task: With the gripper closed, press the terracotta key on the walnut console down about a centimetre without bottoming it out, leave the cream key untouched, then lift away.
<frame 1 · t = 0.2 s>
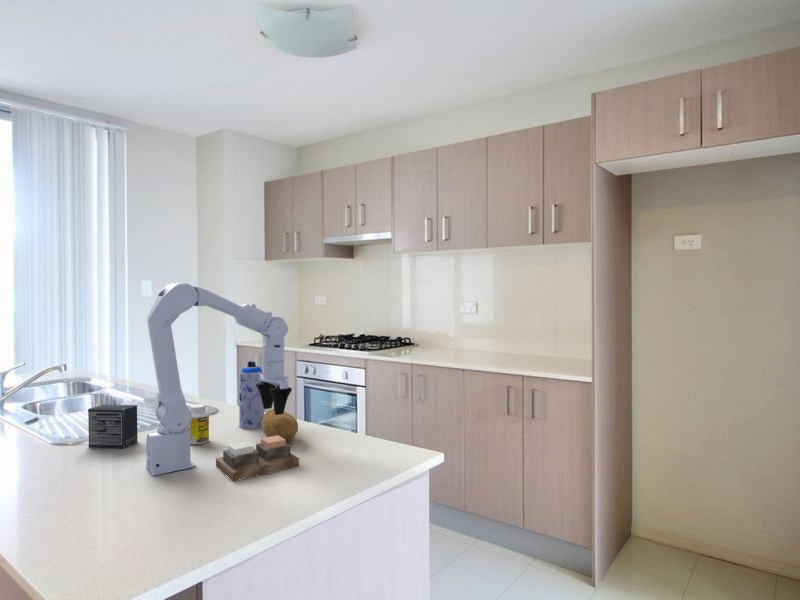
hand: (273, 411, 136), 10 cm above the counter, fingers open, 7 cm apart
supplement bottle: (198, 442, 140), on the counter
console: (257, 466, 121), on the counter
potato: (280, 440, 142), on the counter
small box: (113, 445, 138), on the counter
aerosol can: (252, 426, 157), on the counter
terracotta key: (273, 443, 124), point 5 cm above the counter, slide at 0.0 cm
cream key: (241, 449, 119), point 5 cm above the counter, slide at 0.0 cm
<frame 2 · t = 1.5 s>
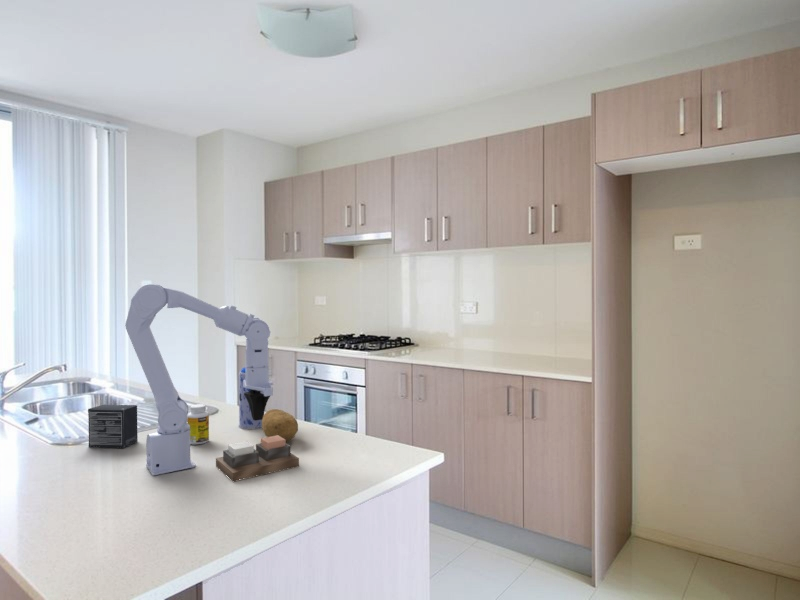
hand: (257, 419, 128), 9 cm above the counter, fingers closed
nothing on the counter moved.
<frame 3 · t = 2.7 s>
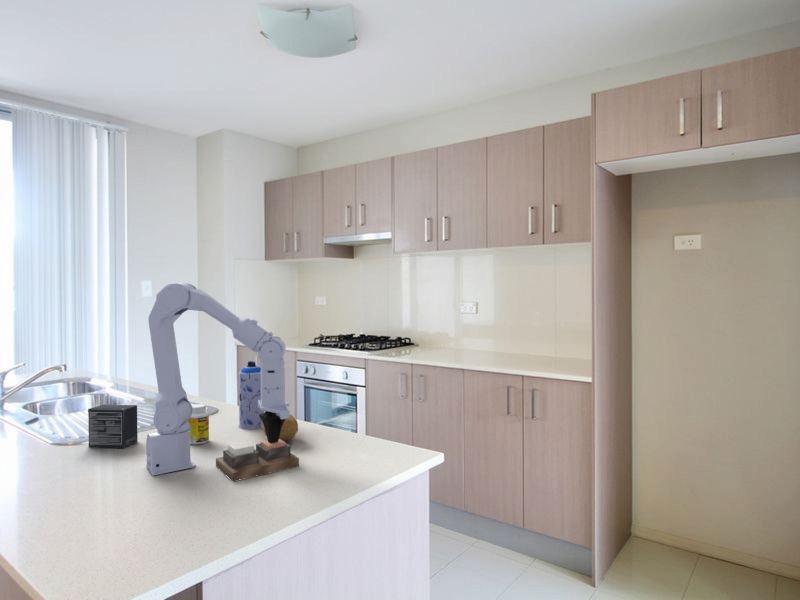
hand: (273, 442, 124), 5 cm above the counter, fingers closed, pressing on terracotta key
terracotta key: (273, 446, 124), point 4 cm above the counter, slide at 0.7 cm, touching gripper
everything else where it was.
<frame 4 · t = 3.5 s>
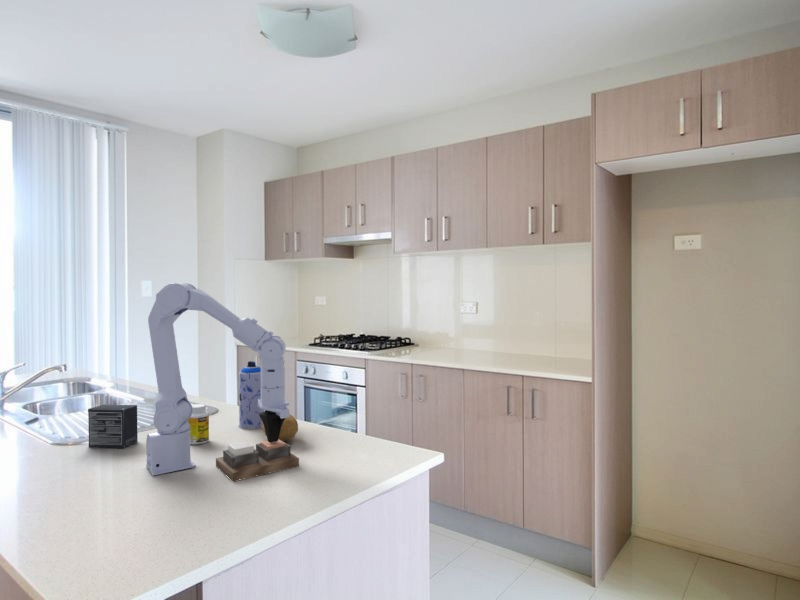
hand: (272, 441, 124), 5 cm above the counter, fingers closed
terracotta key: (273, 446, 124), point 4 cm above the counter, slide at 0.9 cm
everything else where it was.
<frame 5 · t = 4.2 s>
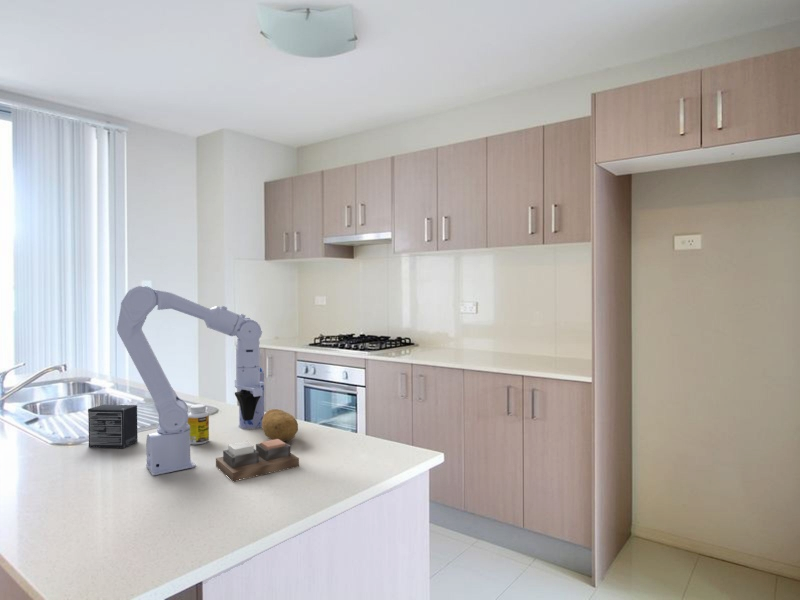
hand: (248, 419, 128), 9 cm above the counter, fingers closed
nothing on the counter moved.
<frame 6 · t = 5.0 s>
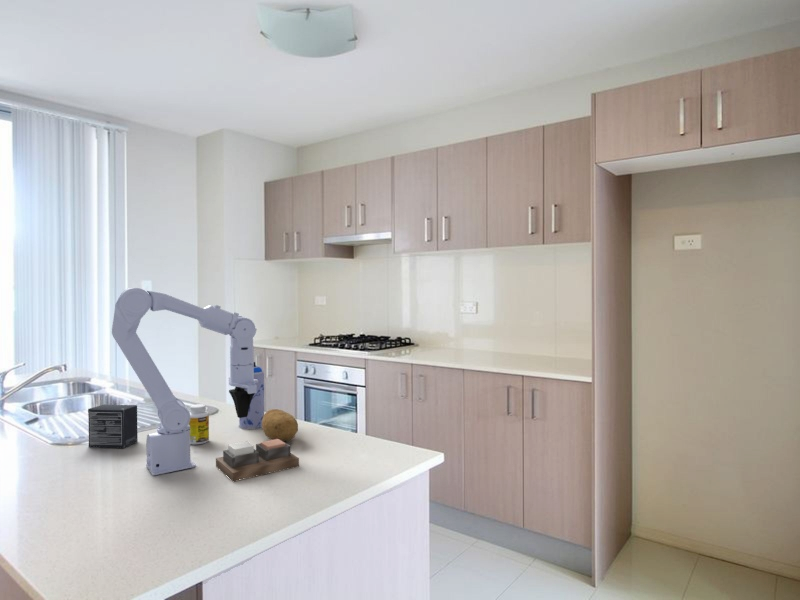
hand: (242, 416, 129), 10 cm above the counter, fingers closed
nothing on the counter moved.
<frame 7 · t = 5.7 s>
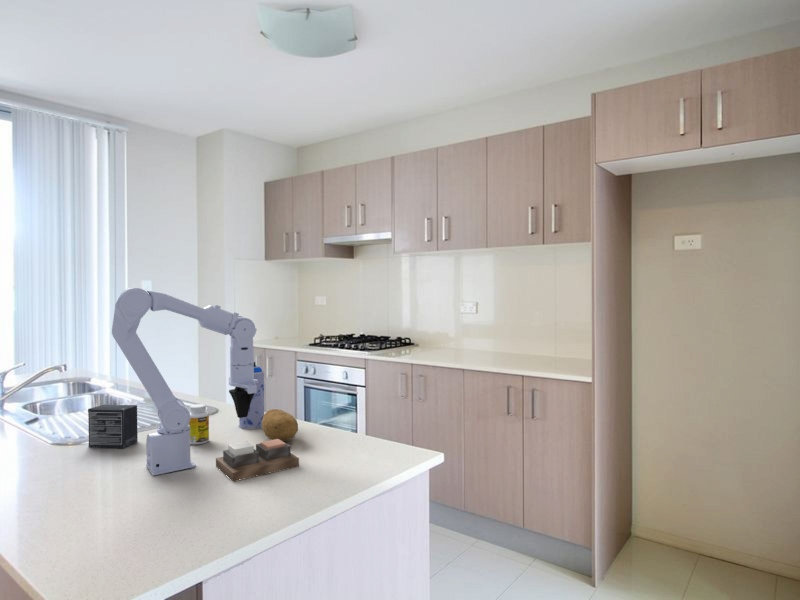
hand: (242, 416, 129), 10 cm above the counter, fingers closed
nothing on the counter moved.
at the end: terracotta key slide at 0.9 cm; cream key slide at 0.0 cm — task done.
